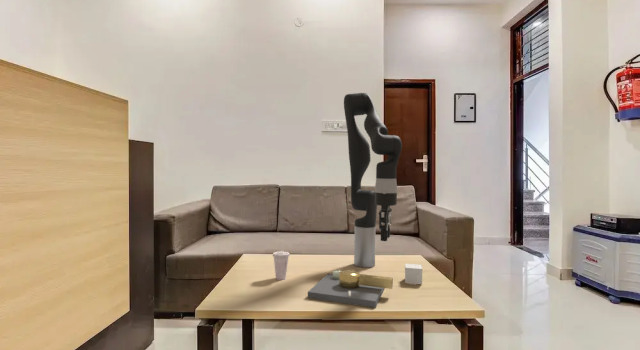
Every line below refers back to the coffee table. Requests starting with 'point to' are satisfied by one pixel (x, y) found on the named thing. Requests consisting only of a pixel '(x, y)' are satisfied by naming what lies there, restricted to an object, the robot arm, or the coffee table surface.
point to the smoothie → (281, 263)
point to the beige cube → (413, 274)
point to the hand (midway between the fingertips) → (385, 239)
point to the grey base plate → (345, 292)
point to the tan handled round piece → (363, 280)
